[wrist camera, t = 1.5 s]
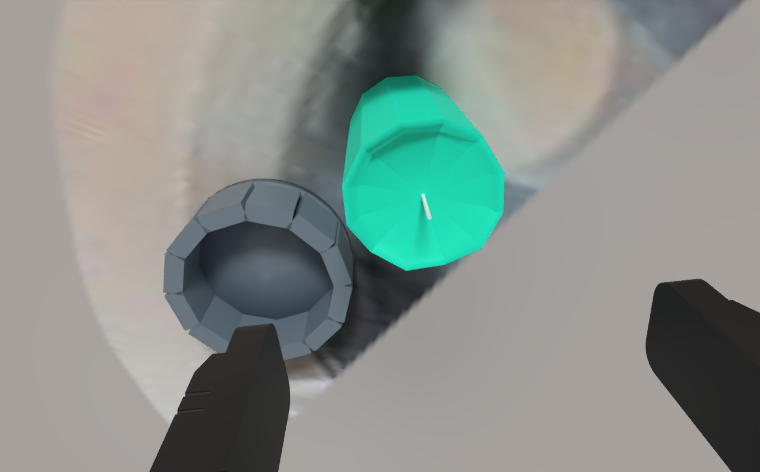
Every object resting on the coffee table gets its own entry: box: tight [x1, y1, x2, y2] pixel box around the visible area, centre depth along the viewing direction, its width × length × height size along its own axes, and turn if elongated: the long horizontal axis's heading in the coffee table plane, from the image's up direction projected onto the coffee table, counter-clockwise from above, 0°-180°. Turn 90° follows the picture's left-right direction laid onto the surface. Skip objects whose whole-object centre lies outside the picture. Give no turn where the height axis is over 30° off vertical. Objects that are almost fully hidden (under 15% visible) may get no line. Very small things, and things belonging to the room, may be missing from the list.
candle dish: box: [163, 179, 354, 361], centre depth 28 cm, size 10×10×4 cm
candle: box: [342, 75, 505, 271], centre depth 22 cm, size 6×6×12 cm
